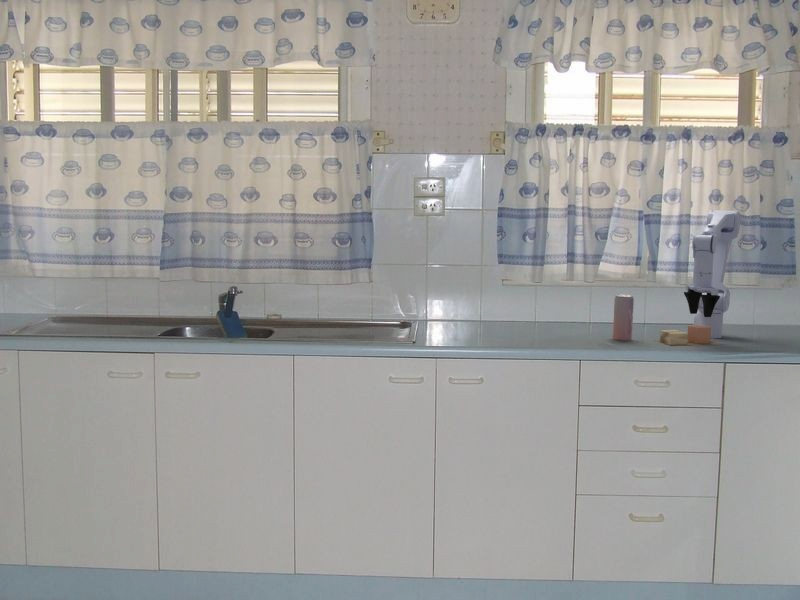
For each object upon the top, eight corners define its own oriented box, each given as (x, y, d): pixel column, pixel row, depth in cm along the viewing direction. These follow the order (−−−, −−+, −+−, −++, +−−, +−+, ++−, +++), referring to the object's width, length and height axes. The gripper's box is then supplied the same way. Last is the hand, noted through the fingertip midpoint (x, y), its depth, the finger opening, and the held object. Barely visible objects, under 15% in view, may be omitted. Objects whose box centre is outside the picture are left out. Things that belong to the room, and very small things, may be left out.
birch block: (659, 341, 265) (660, 330, 265) (676, 340, 267) (677, 330, 266) (670, 344, 259) (670, 333, 259) (687, 344, 261) (687, 333, 260)
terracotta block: (687, 340, 267) (688, 325, 266) (700, 340, 268) (701, 325, 267) (696, 343, 262) (697, 327, 261) (710, 343, 263) (711, 327, 263)
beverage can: (617, 339, 273) (619, 294, 271) (634, 341, 269) (637, 295, 267) (609, 341, 268) (611, 295, 266) (626, 343, 264) (629, 297, 263)
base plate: (653, 342, 267) (653, 340, 267) (703, 341, 271) (703, 338, 271) (670, 348, 257) (670, 345, 257) (721, 346, 262) (721, 344, 261)
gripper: (678, 270, 268) (676, 312, 270) (705, 275, 254) (702, 318, 256) (698, 270, 270) (695, 312, 272) (725, 274, 256) (722, 318, 258)
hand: (700, 315), depth 264 cm, fingers open, 7 cm apart
